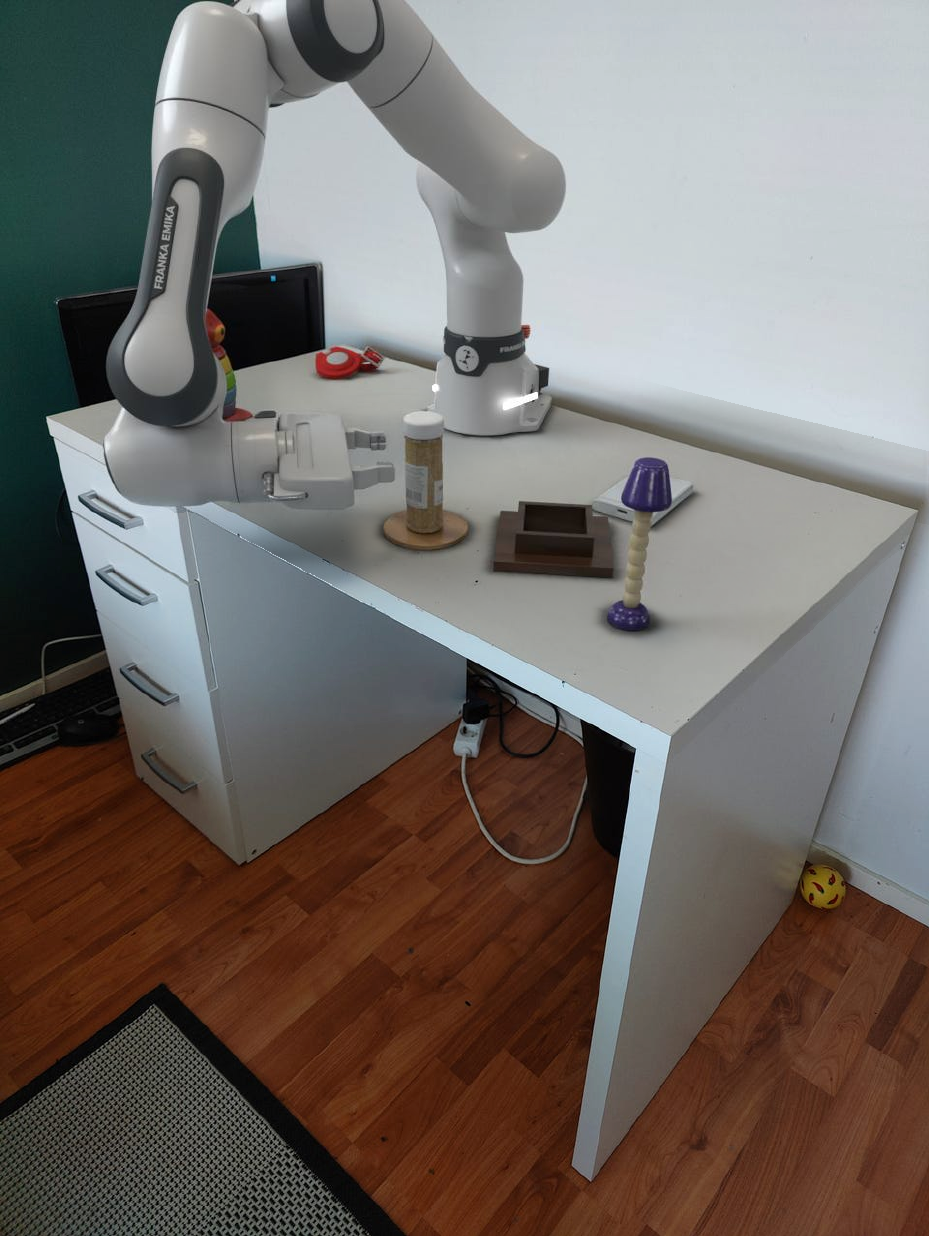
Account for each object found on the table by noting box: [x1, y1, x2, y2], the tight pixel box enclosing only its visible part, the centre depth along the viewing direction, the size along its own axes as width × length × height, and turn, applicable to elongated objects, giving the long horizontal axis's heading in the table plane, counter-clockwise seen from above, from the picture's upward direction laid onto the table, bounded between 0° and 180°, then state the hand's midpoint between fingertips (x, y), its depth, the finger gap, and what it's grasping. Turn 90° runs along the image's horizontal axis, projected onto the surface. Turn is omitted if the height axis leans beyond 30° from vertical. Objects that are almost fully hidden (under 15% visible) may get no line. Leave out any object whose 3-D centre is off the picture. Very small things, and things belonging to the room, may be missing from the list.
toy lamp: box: [606, 456, 672, 631], centre depth 82 cm, size 5×5×17 cm
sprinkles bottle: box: [402, 410, 445, 534], centre depth 99 cm, size 5×5×14 cm
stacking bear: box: [206, 307, 254, 422], centre depth 126 cm, size 11×10×18 cm
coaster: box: [383, 509, 469, 551], centre depth 102 cm, size 10×10×1 cm
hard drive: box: [592, 475, 694, 527], centre depth 110 cm, size 2×8×12 cm
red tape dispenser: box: [314, 345, 386, 380], centre depth 156 cm, size 12×4×10 cm
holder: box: [492, 500, 614, 578], centre depth 99 cm, size 13×13×4 cm
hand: (389, 455), depth 97 cm, fingers open, 8 cm apart
